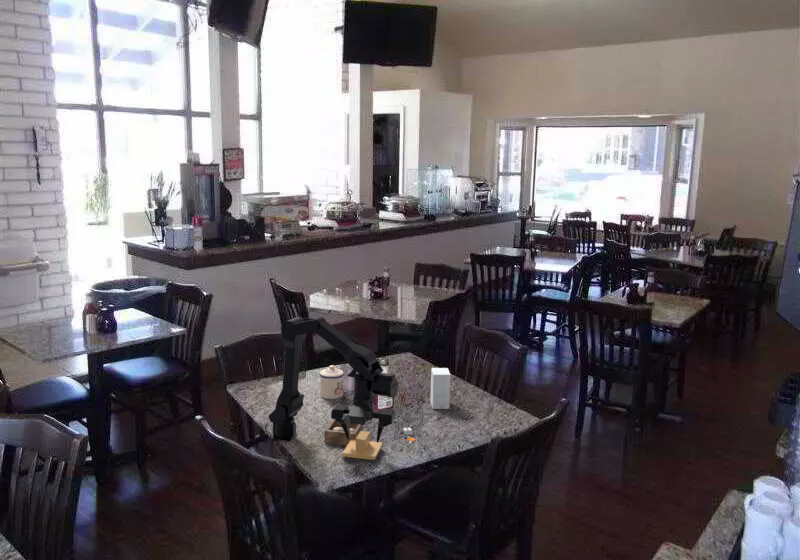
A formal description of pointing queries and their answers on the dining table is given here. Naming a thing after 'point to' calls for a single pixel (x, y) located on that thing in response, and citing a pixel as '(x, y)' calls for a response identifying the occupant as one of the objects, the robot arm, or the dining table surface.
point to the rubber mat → (363, 459)
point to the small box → (440, 388)
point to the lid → (362, 447)
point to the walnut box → (341, 433)
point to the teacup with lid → (331, 383)
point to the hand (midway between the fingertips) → (363, 440)
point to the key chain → (408, 434)
